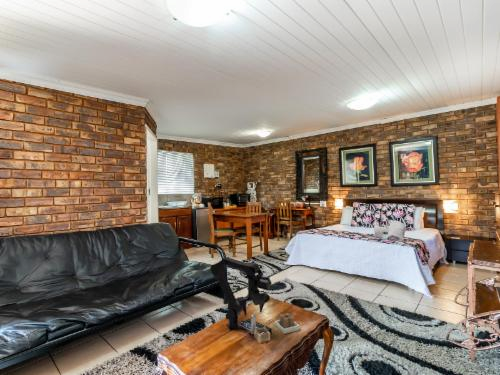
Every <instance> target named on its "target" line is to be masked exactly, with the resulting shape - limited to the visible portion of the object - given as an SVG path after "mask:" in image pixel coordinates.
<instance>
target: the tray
mask: <svg viewBox="0 0 500 375" xmlns="http://www.w3.org/2000/svg"><path fill="white" fill-rule="evenodd" d="M274 326H275V327H276V328H277V329H278V330H279V332H281V333H282V334H283V335H286V334H291V333H293V332H297V331H300V325H299V324H298V323H297V322H296V321H295V320H294V326H293V327H289V328H285V329H284V328H283V327H282V326H281V325H280V319H278V320H275V321H274Z"/></svg>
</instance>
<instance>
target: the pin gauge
mask: <svg viewBox="0 0 500 375" xmlns="http://www.w3.org/2000/svg"><path fill="white" fill-rule="evenodd" d="M255 329H257V315H256V314H254V313H252V314H251V315H250V334H251V335H254V330H255Z"/></svg>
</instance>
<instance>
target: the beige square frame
mask: <svg viewBox="0 0 500 375" xmlns="http://www.w3.org/2000/svg"><path fill="white" fill-rule="evenodd" d="M262 332H264V333H263V334H260V333H262ZM253 335H254V338H255V340H256V341H257V342H258V344H261V343H262V344H263V343H264V342H269V341H271V332H270V331H269V330H268V329H267V328H266V327H265V326H264V327H259V328H256V329H255V330H254V334H253Z"/></svg>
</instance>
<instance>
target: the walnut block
mask: <svg viewBox="0 0 500 375" xmlns="http://www.w3.org/2000/svg"><path fill="white" fill-rule="evenodd" d="M279 320H280V325H281V326H282V327H283V328H284V329H285V328H289V327H293V326H294V321H295V317H294V316H293V315H292V314H290V312H287V313H284V314H283V313H281V314H280V315H279Z"/></svg>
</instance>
